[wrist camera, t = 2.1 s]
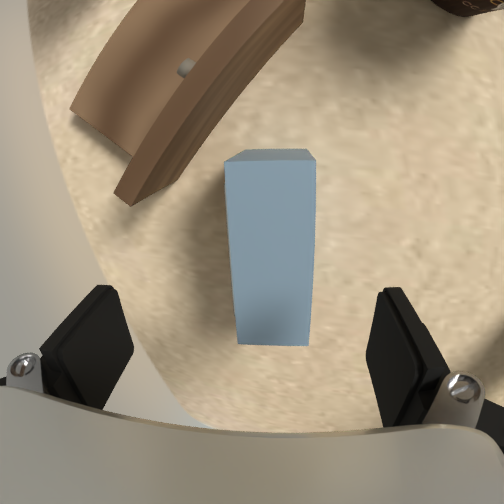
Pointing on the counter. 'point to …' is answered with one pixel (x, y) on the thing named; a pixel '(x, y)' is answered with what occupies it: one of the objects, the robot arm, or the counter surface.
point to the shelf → (177, 79)
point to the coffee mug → (469, 6)
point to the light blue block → (271, 244)
